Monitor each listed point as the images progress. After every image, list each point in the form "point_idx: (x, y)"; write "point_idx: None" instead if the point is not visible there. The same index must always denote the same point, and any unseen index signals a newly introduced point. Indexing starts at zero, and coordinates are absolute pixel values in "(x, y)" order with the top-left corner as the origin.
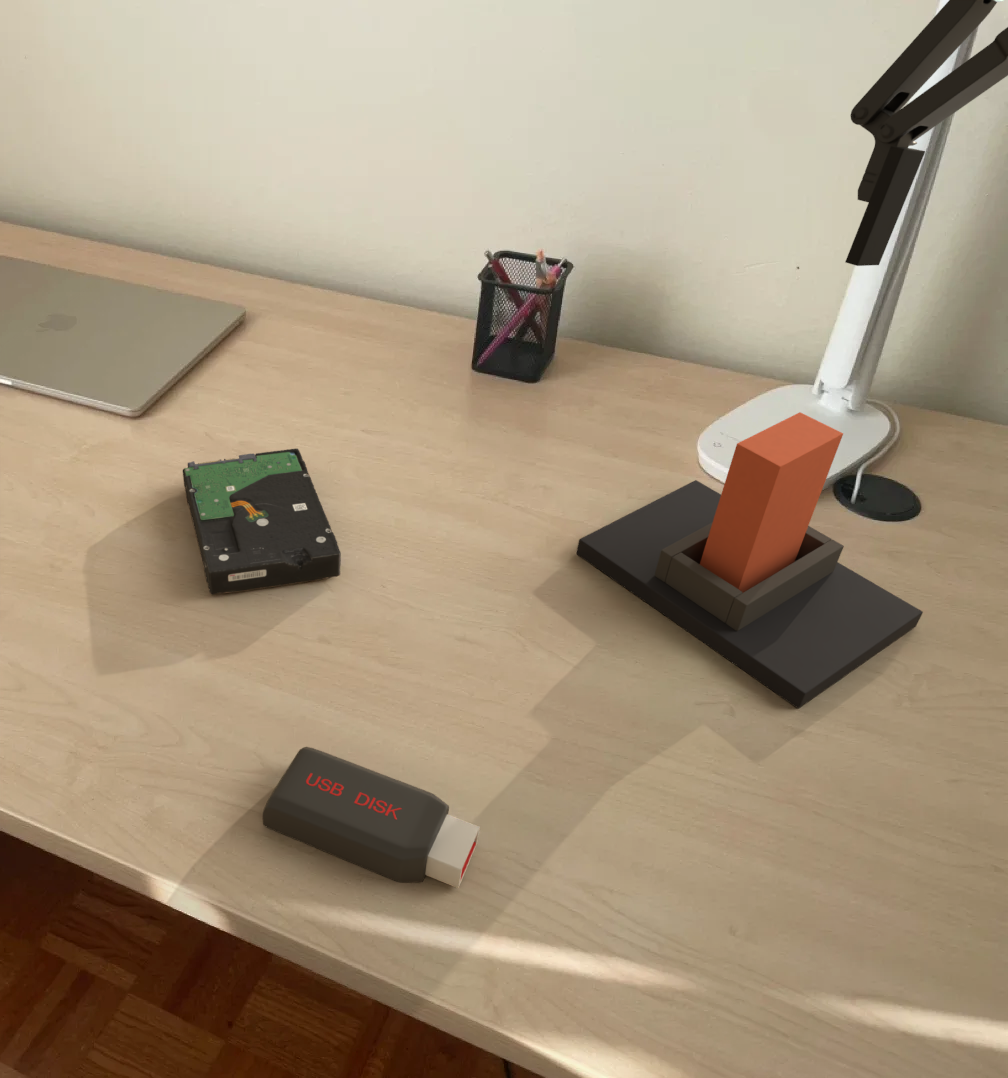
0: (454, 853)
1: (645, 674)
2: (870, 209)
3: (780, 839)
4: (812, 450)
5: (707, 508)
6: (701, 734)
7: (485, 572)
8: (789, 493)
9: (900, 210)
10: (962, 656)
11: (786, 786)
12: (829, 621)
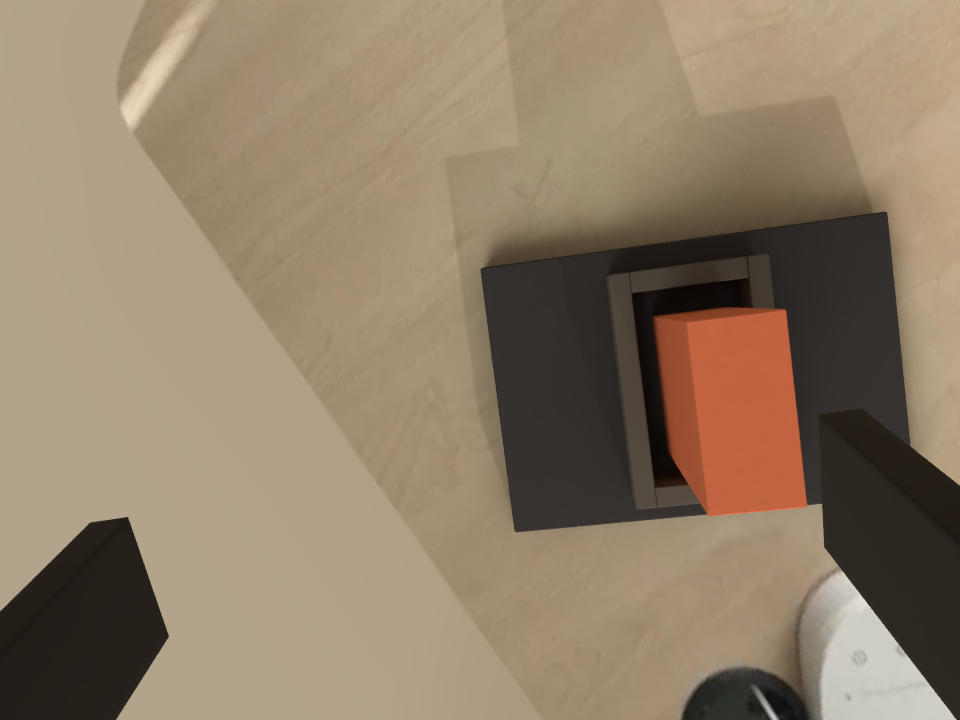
0: None
1: (621, 137)
2: (943, 488)
3: (357, 102)
4: (696, 419)
5: None
6: (509, 130)
7: (912, 58)
8: (681, 381)
9: (912, 657)
10: (453, 527)
11: (405, 164)
12: (560, 405)
